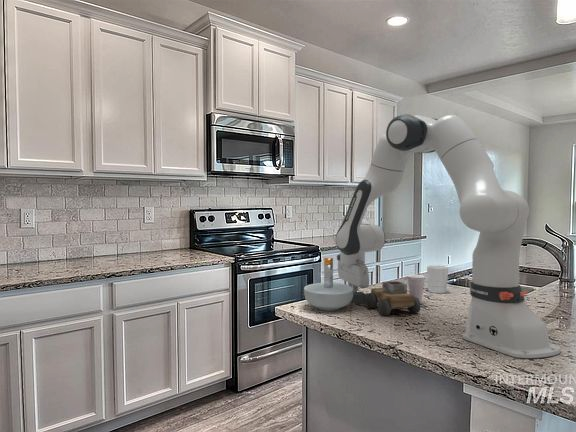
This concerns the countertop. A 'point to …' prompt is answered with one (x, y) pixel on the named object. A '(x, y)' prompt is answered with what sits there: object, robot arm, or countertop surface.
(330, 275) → the grey and orange cylinder
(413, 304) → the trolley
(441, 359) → the countertop surface
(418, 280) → the smoothie
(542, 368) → the countertop surface
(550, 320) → the countertop surface
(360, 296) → the dark grey cube
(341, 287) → the cereal bowl
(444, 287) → the white cup
